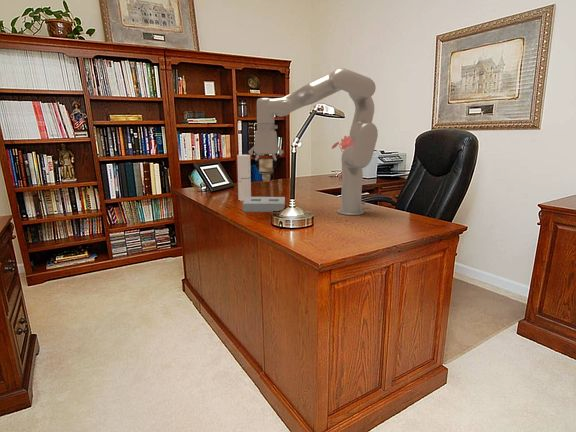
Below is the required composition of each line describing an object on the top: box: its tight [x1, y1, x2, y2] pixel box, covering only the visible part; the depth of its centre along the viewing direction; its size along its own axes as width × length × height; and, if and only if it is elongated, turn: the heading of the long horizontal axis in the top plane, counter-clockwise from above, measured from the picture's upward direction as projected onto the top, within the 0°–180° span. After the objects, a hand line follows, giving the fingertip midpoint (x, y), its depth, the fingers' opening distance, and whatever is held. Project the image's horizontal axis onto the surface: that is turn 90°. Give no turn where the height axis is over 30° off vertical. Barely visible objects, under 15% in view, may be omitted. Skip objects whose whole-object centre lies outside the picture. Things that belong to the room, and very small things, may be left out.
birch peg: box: [258, 158, 274, 183], centre depth 156 cm, size 6×6×10 cm
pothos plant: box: [331, 135, 355, 181], centre depth 276 cm, size 15×26×35 cm, turn 99°
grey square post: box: [236, 154, 252, 202], centre depth 195 cm, size 7×7×25 cm
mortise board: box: [242, 196, 286, 213], centre depth 177 cm, size 20×18×4 cm
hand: (266, 168), depth 156 cm, fingers closed on birch peg, 6 cm apart
